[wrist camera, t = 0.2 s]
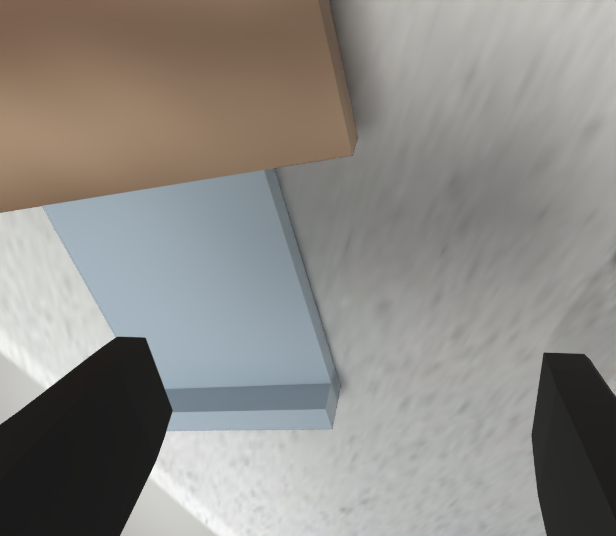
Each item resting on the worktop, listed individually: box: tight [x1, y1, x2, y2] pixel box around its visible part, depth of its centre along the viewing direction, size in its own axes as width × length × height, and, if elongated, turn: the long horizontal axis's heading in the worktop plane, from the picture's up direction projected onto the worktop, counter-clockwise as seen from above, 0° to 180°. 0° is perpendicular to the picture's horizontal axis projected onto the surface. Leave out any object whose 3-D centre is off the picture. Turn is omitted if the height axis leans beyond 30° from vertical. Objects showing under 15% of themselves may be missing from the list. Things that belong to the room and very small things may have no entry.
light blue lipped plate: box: [42, 168, 341, 431], centre depth 22 cm, size 11×9×3 cm
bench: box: [0, 0, 358, 213], centre depth 16 cm, size 9×16×3 cm, turn 104°
